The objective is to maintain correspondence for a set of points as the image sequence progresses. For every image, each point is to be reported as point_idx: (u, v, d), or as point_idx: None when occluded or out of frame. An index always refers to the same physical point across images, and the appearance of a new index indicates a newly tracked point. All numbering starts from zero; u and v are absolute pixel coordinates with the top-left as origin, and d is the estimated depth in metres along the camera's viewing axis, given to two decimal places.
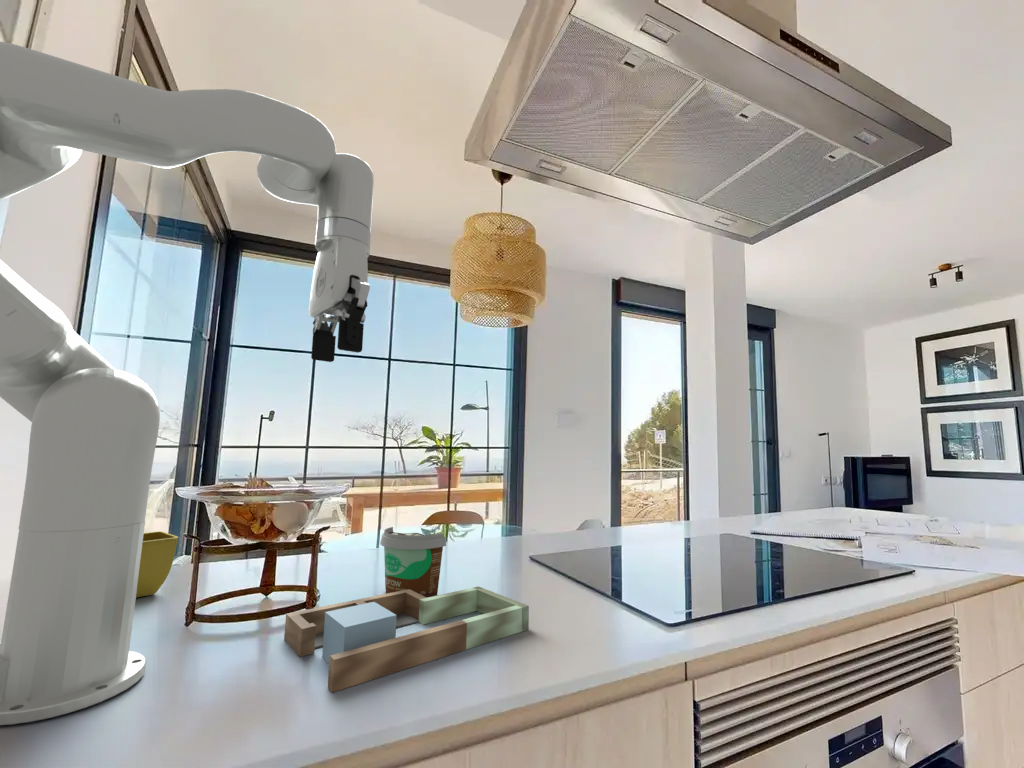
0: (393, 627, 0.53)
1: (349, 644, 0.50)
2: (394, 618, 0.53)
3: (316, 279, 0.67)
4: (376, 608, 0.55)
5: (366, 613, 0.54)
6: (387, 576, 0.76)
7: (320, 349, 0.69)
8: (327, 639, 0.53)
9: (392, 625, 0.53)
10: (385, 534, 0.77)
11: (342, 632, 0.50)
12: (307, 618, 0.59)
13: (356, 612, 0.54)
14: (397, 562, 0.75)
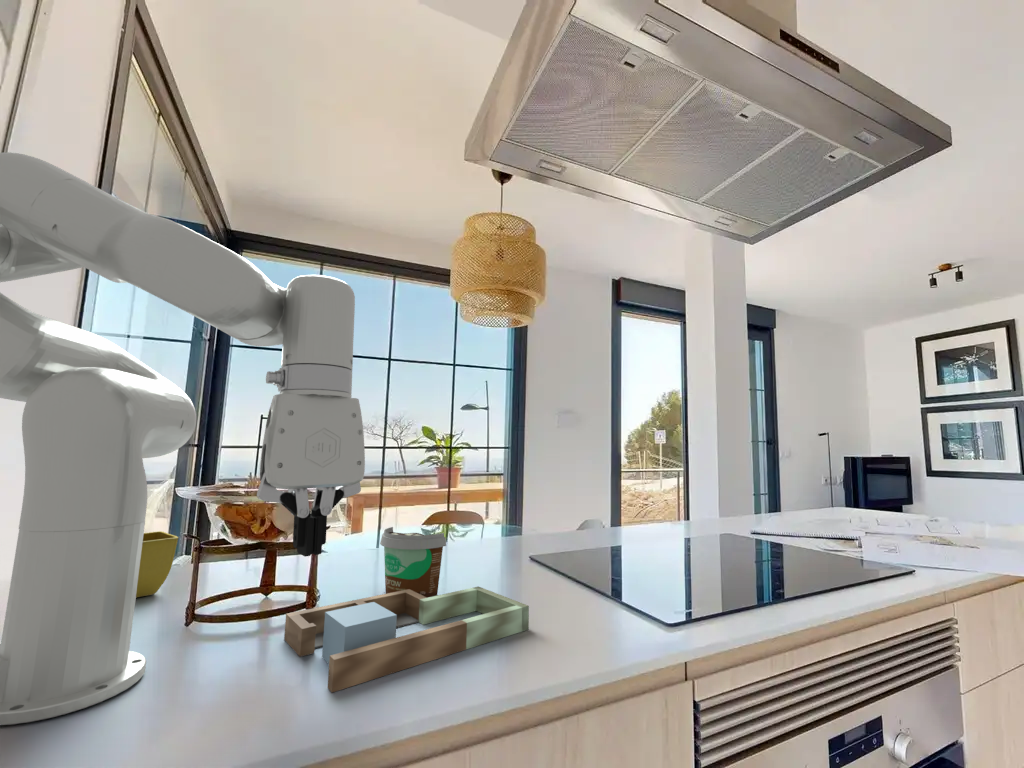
0: (393, 627, 0.53)
1: (349, 644, 0.50)
2: (394, 618, 0.53)
3: (305, 438, 0.49)
4: (376, 608, 0.55)
5: (366, 613, 0.54)
6: (387, 576, 0.76)
7: None
8: (327, 639, 0.53)
9: (392, 625, 0.53)
10: (385, 534, 0.77)
11: (343, 631, 0.50)
12: (307, 618, 0.59)
13: (356, 612, 0.54)
14: (397, 562, 0.75)
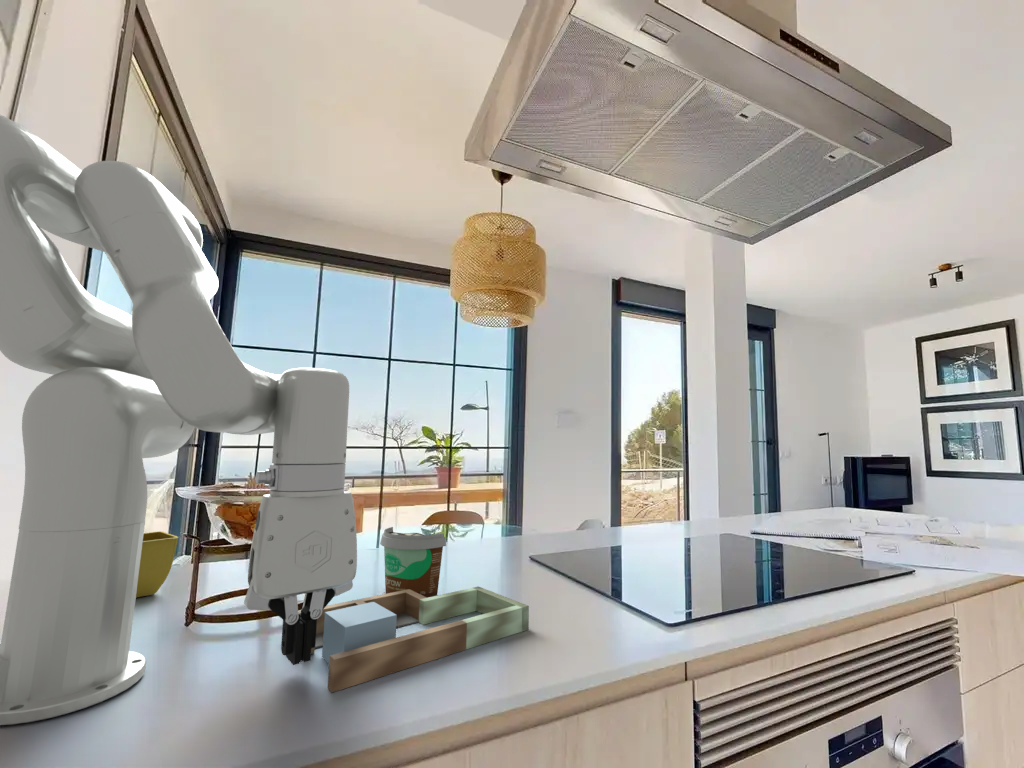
0: (393, 627, 0.53)
1: (349, 644, 0.50)
2: (394, 618, 0.53)
3: (295, 543, 0.47)
4: (376, 608, 0.55)
5: (366, 613, 0.54)
6: (387, 576, 0.76)
7: None
8: (327, 639, 0.53)
9: (392, 625, 0.53)
10: (385, 534, 0.77)
11: (343, 632, 0.50)
12: None
13: (356, 612, 0.54)
14: (397, 562, 0.75)
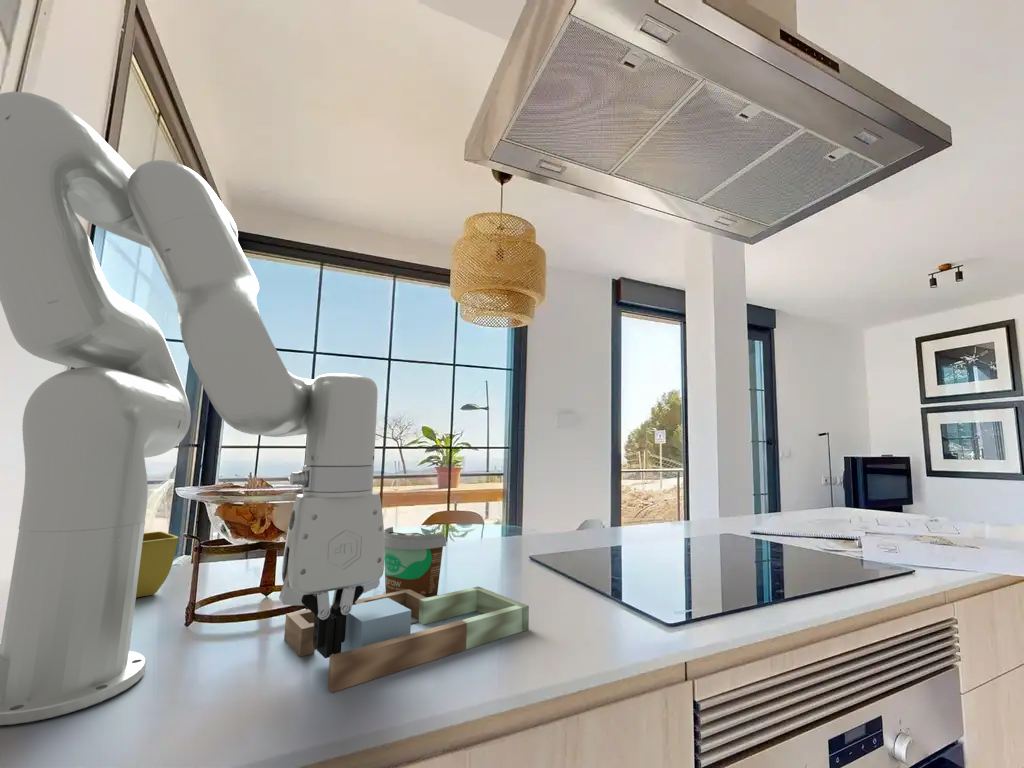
0: (408, 622, 0.54)
1: (366, 638, 0.51)
2: (409, 613, 0.54)
3: (327, 541, 0.49)
4: (391, 604, 0.56)
5: (381, 608, 0.55)
6: (387, 576, 0.76)
7: None
8: None
9: (407, 620, 0.54)
10: (385, 534, 0.77)
11: (360, 626, 0.51)
12: (307, 618, 0.59)
13: (371, 607, 0.55)
14: (397, 562, 0.75)
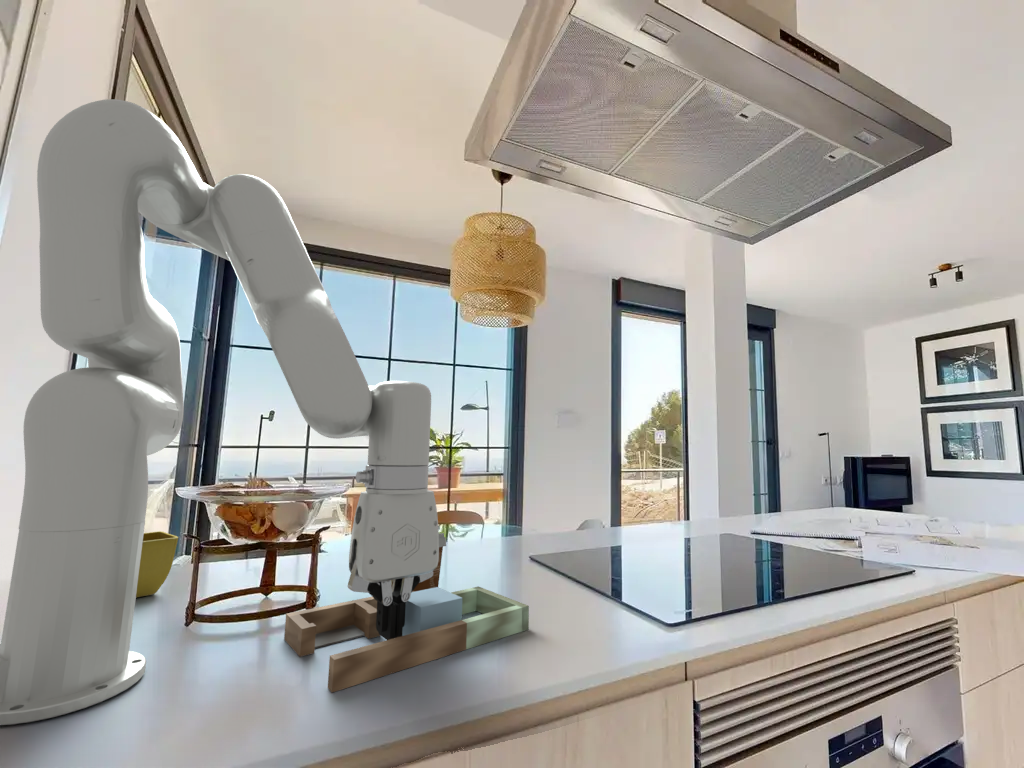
0: (460, 608, 0.59)
1: (424, 622, 0.56)
2: (460, 600, 0.59)
3: (391, 534, 0.54)
4: (442, 592, 0.61)
5: (434, 596, 0.60)
6: None
7: None
8: None
9: (459, 607, 0.59)
10: None
11: (418, 611, 0.56)
12: (307, 618, 0.59)
13: (425, 595, 0.60)
14: None
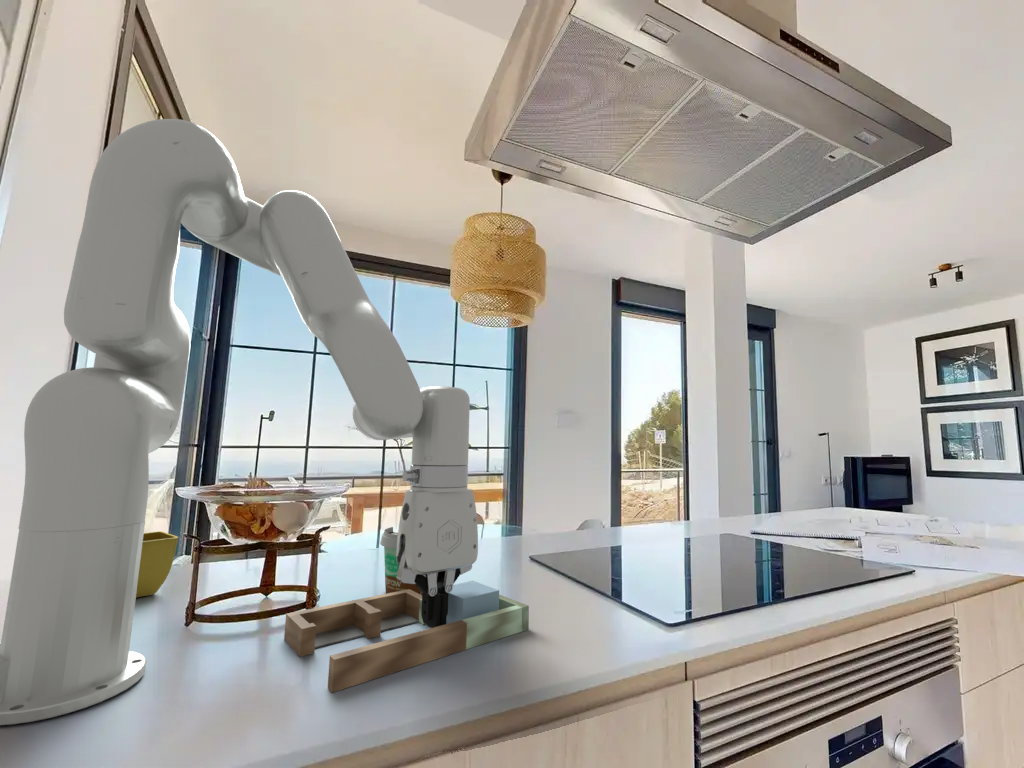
0: (497, 600, 0.63)
1: (466, 613, 0.60)
2: (497, 593, 0.63)
3: (437, 529, 0.58)
4: (479, 585, 0.65)
5: (473, 589, 0.64)
6: (387, 576, 0.76)
7: None
8: None
9: (496, 598, 0.63)
10: (385, 534, 0.77)
11: (460, 602, 0.60)
12: (307, 618, 0.59)
13: (464, 588, 0.64)
14: None
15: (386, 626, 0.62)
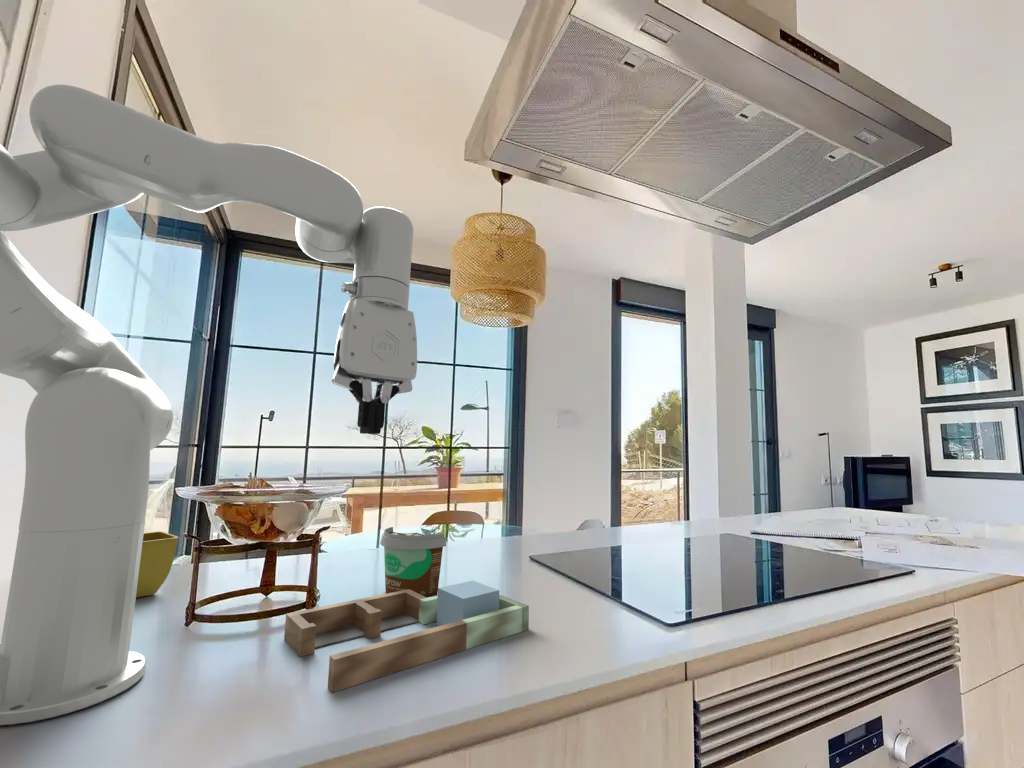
0: (497, 600, 0.63)
1: (466, 613, 0.60)
2: (497, 593, 0.63)
3: (371, 336, 0.60)
4: (479, 585, 0.65)
5: (473, 589, 0.64)
6: (387, 576, 0.76)
7: None
8: (442, 610, 0.63)
9: (496, 598, 0.63)
10: (385, 534, 0.77)
11: (461, 602, 0.60)
12: (307, 618, 0.59)
13: (464, 588, 0.64)
14: (397, 562, 0.75)
15: (386, 626, 0.62)
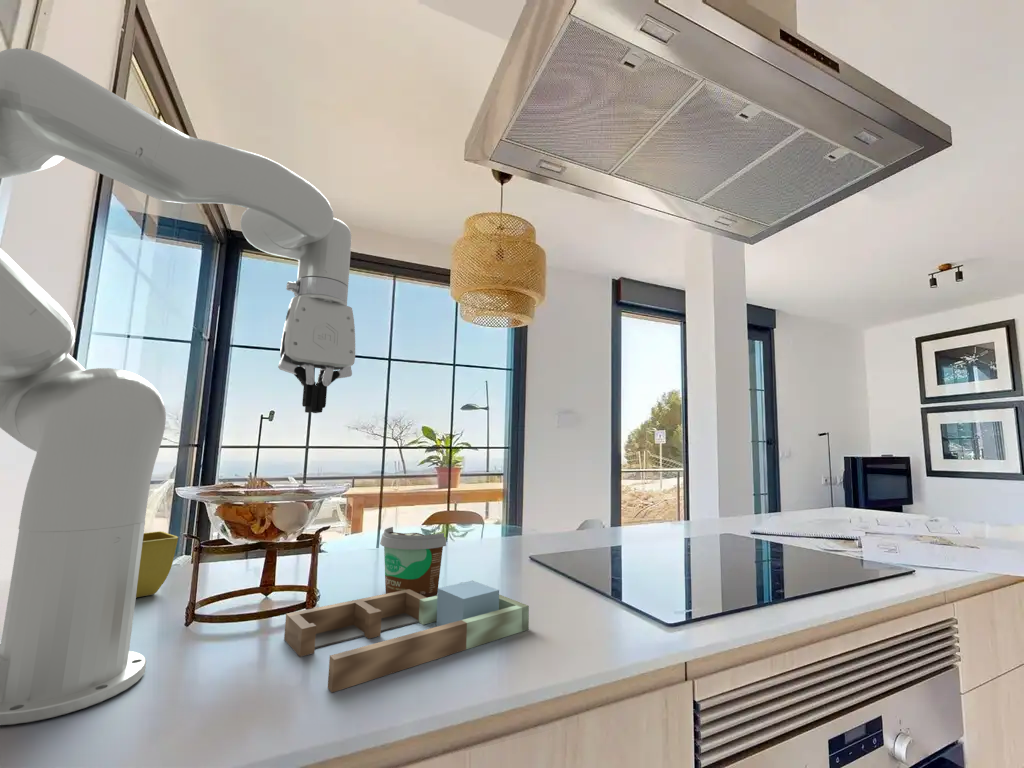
0: (497, 600, 0.63)
1: (466, 613, 0.60)
2: (497, 592, 0.63)
3: (313, 328, 0.69)
4: (478, 585, 0.65)
5: (473, 589, 0.64)
6: (387, 576, 0.76)
7: None
8: (442, 610, 0.63)
9: (496, 598, 0.63)
10: (385, 534, 0.77)
11: (461, 602, 0.60)
12: (307, 618, 0.59)
13: (463, 588, 0.64)
14: (397, 562, 0.75)
15: (386, 626, 0.62)
